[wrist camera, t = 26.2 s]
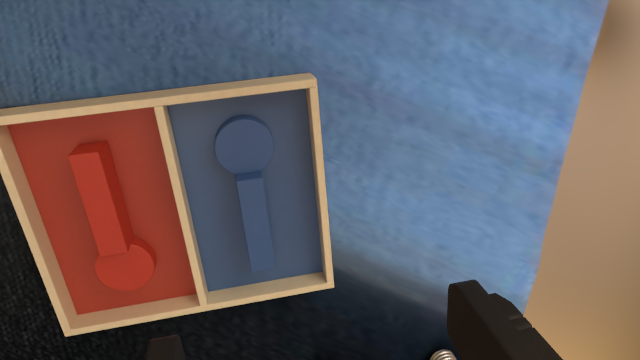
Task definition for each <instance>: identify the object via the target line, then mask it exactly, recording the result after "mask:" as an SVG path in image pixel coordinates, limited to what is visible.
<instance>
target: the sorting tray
mask: <svg viewBox="0 0 640 360" xmlns="http://www.w3.org/2000/svg"><path fill="white" fill-rule="evenodd" d="M243 115H244V116H252V117H255V118H257V119H259V120H261V121H262V122H263V123H264V124H265V125H266V126H267V127H268V128H269V130H270V132H271V134H272V137H273V141H274V154H273V157H272V159H271V161H270V163H269V164H268V165H267V166H266V167H265V168H264V169H263V170H262V175H263V181H264V188H265V195H266V202H267V209H268V216H269V223H270V230H271V237H272V243H273V250H274V257H275V264H276V268H275V269H269V270H263V271H258V272H251V268H250V262H249V257H248V251H247V245H246V239H245V233H244V227H243V222H242V216H241V210H240V204H239V198H238V193H237V187H236V176H235V174H233V173H231V172H229V171H227V170H226V169H225V168H223V167H222V166H221V164H220V163H219V162H218V160H217V158H216V156H215V151H214V142H215V136H216V133H217V131H218V129H219V128H220V126H221V125H222V124H223V123H224V122H225V121H227V120H228V119H231V118H233V117H236V116H243ZM100 141H107V143H108V146H109V150H110V153H111V157H112V160H113V164H114V167H115V171H116V174H117V178H118V181H119V185H120V188H121V192H122V195H123V199H124V202H125V206H126V209H127V213H128V216H129V220H130V223H131V227H132V230H133V234H134V237H136V238H139V239H141V240H143V241H145V242H146V243H148V244H149V245H150V246H151V247H152V249H153V250H154V252H155V255H156V266H155V270H154V273H153V276H152V278H151V279H150V281H149V282H148V283H147V284H145V285H144V286H142V287H140V288H138V289H135V290H131V291H120V290H115V289H112V288H110V287H108V286H106V285H105V284H103V283H102V282H101V281H100V279H99V278H98V277H97V275H96V272H95V267H94V265H95V260H96V257H97V255H98V253H99V251H98V248H97V245H96V242H95V239H94V236H93V233H92V230H91V227H90V224H89V221H88V218H87V215H86V212H85V208H84V205H83V202H82V199H81V196H80V193H79V190H78V187H77V184H76V181H75V178H74V175H73V172H72V169H71V166H70V163H69V159H68V155H69V154H70V153H71V152H72V151H73V150H74V148H75V147H76V146H77V145H78V144H85V143H92V142H100ZM0 173H1V175H2V178H3V180H4V183H5V186H6V188H7V191H8V193H9V196H10V198H11V201H12V203H13V206H14V208H15V211H16V213H17V216H18V218H19V221H20V224H21V226H22V229H23V231H24V234H25V236H26V239H27V241H28V244H29V246H30V249H31V251H32V254H33V257H34V259H35V262H36V264H37V267H38V269H39V272H40V274H41V277H42V279H43V282H44V284H45V287H46V290H47V292H48V295H49V297H50V300H51V302H52V305H53V307H54V310H55V312H56V315H57V317H58V320H59V323H60V325H61V328H62V330H63V332H64V335H65V337H67V336H72V335H78V334H83V333H88V332H94V331H99V330H105V329H110V328H116V327H121V326H127V325H132V324H138V323H143V322H149V321H154V320H159V319H165V318H170V317H176V316H181V315H187V314H192V313H198V312H203V311H209V310H214V309H220V308H225V307H230V306H236V305H241V304H247V303H252V302H258V301H263V300H269V299H274V298H280V297H285V296H291V295H296V294H301V293H307V292H312V291H318V290H323V289H329V288H334V279H333V267H332V255H331V243H330V231H329V219H328V207H327V196H326V184H325V172H324V160H323V148H322V136H321V124H320V113H319V101H318V89H317V79H316V78H315V77H314V76H313V75H312V74H311V73H303V74H294V75H286V76H277V77H269V78H260V79H252V80H243V81H235V82H226V83H218V84H209V85H201V86H192V87H184V88H175V89H167V90H158V91H150V92H141V93H133V94H124V95H116V96H107V97H99V98H90V99H81V100H73V101H64V102H56V103H47V104H39V105H30V106H22V107H13V108H5V109H0Z"/></svg>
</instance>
